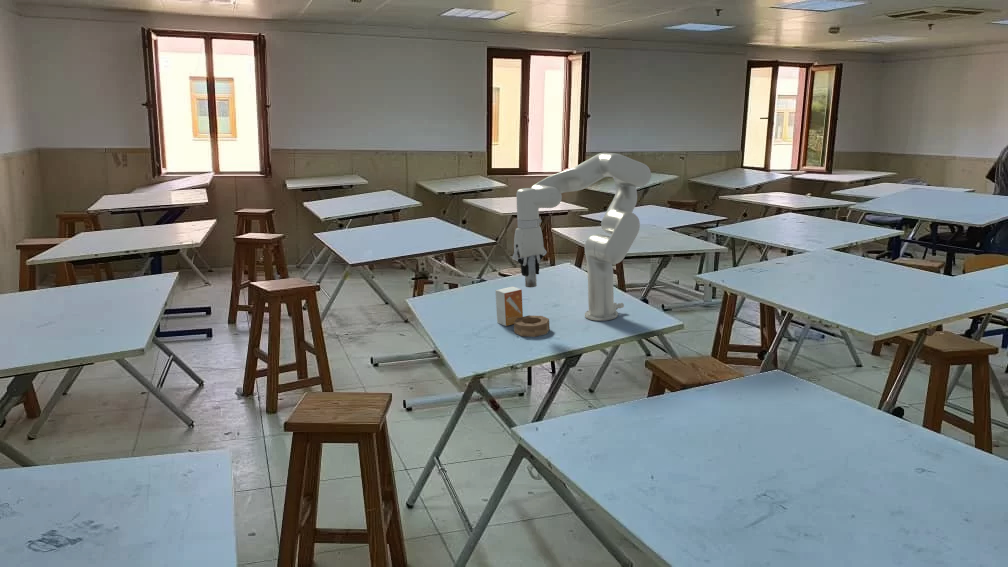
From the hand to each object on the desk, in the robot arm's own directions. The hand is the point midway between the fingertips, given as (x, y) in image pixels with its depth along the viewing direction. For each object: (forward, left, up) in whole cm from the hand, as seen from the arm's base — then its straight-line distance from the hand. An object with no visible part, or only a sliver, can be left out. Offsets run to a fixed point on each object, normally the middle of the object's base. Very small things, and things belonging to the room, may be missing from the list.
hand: (530, 274), depth 251 cm
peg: (0, 0, -4) cm, 4 cm away
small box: (+1, -15, -22) cm, 26 cm away
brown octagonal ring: (0, -1, -21) cm, 21 cm away
